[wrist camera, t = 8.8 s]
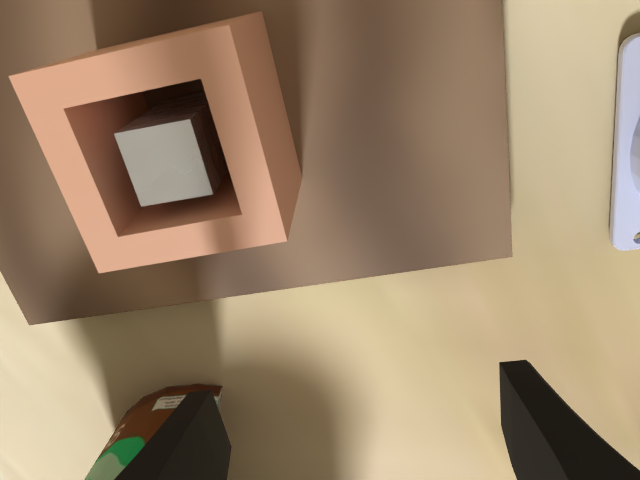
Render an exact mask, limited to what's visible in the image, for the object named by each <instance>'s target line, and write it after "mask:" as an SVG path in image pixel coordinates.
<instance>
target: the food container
mask: <svg viewBox="0 0 640 480" xmlns="http://www.w3.org/2000/svg"><path fill="white" fill-rule="evenodd" d="M205 390H212V392H213V395H214V398H215V401H216V404H217V407H218V410H219V407H220V400H221V392H222V386H214V385H206V384H191V385H181V386H172V387H167V388H164V389H162V390H159V391H157V392H154V393H152V394H149V395H147V396H144V397H143V398H142V399H141V400H140V401H138V402H137V403H136V404H135V405H134V406H133V407H132V408H131V409H130V410H128V411H127V412H126V414H125V416H124V417H123V419H122V420H121V422H120V424H119V425H118V427H117V428H116V430H115V432H114V433H113V435H112V436H111V438H110V440H109V441H108V443H107V444H106V446H105V448H104V449H103V451H102V452H101V454H100V456H99V457H98V459H97V460H96V462H95V464H94V465H93V467H92V468H91V470H90V472H89V473H88V475H87V476H86V478H85V480H114V479H115V478H116V477H117V476H118V475H119V473H120V472H121V471H122V470H123V469H124V468H125V467H126V466H127V465H128V464H129V463H130V462H131V460H132V459H133V458H134V457H135V456H136V455H137V454H138V453H139V451H140V450H141V449H142V448H143V447H144V446H145V444H146V443H147V442H148V441H149V440H150V438H151V437H152V436H153V435H154V434H155V433H156V431H157V430H158V429H159V428H160V426H161V425H162V424H163V423H164V422H165V420H166V419H167V418H168V417H169V416H170V414H171V413H172V412H173V411H174V409H175V408H176V407H177V406H178V405H179V403H180V402H181V401H182V400H183V399H184V397H185V396H186V395H187V394H188V393H189V392H194V391H205Z"/></svg>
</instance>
